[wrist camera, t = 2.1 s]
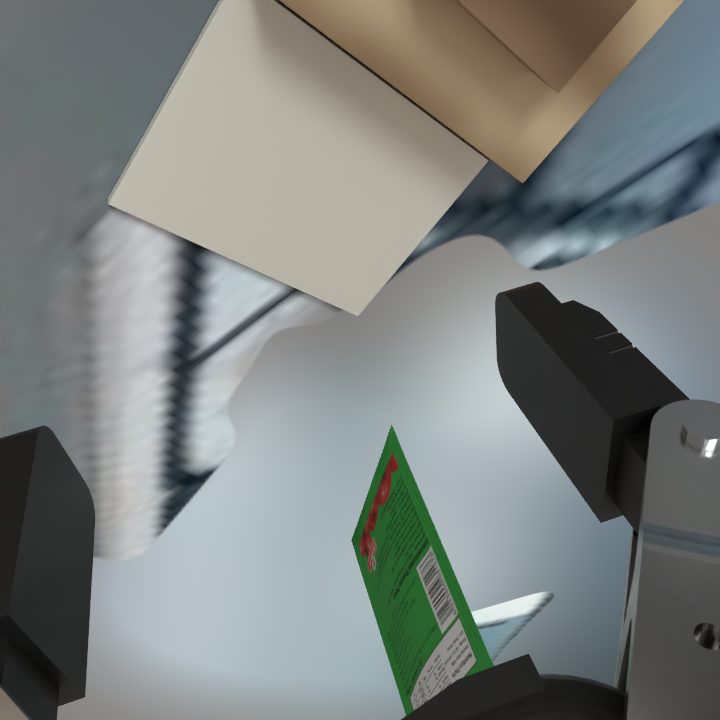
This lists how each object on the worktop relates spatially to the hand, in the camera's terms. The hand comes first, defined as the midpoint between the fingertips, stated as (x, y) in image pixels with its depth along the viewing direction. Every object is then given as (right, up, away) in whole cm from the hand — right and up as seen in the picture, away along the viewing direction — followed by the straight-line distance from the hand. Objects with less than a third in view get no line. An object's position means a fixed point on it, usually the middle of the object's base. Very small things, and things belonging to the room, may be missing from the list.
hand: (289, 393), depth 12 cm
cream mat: (-1, +10, +23) cm, 25 cm away
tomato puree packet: (+2, -10, +44) cm, 45 cm away
